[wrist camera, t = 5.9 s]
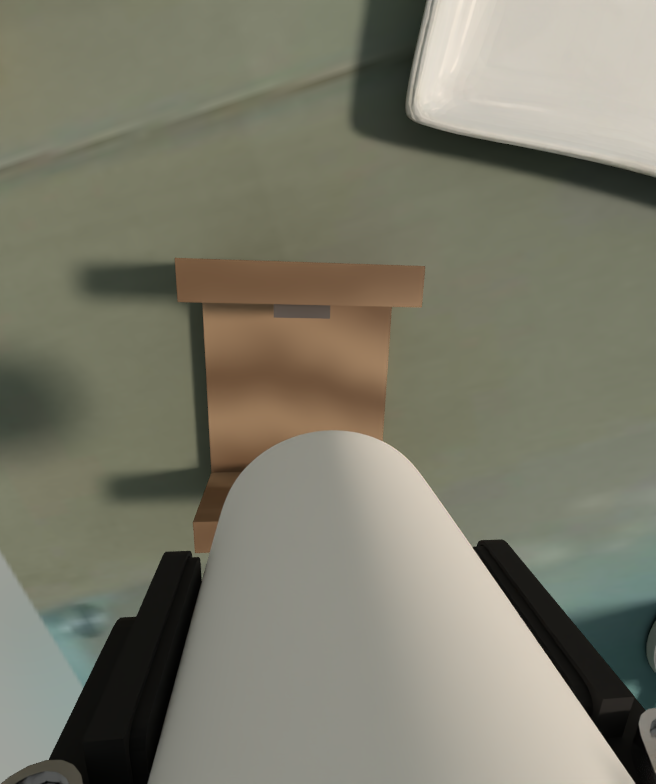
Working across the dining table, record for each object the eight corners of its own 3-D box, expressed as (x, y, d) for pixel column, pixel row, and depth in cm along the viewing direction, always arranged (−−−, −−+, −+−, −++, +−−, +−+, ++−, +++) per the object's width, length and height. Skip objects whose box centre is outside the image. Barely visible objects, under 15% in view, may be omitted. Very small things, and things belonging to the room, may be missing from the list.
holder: (375, 487, 31) (400, 544, 25) (215, 491, 30) (195, 553, 23) (390, 268, 27) (425, 266, 20) (203, 262, 26) (174, 258, 19)
